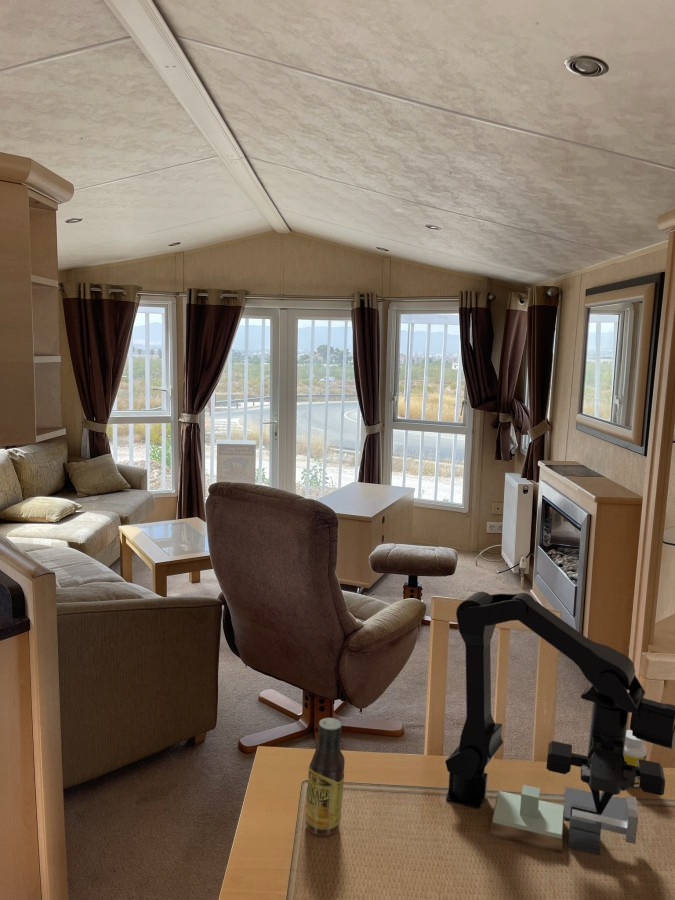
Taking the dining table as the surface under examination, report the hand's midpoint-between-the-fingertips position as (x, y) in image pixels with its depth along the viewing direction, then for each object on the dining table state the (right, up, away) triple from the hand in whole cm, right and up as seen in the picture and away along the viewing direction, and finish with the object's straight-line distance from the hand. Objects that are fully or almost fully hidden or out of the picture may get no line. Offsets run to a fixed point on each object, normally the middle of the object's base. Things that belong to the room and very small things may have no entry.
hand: (599, 812), depth 127 cm
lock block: (-2, -6, +2) cm, 7 cm away
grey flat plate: (+3, -5, +11) cm, 12 cm away
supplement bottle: (+13, -4, +21) cm, 25 cm away
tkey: (+1, -2, 0) cm, 2 cm away
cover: (-11, -3, +4) cm, 12 cm away
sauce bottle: (-48, -4, +3) cm, 48 cm away
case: (-11, -5, +5) cm, 13 cm away
